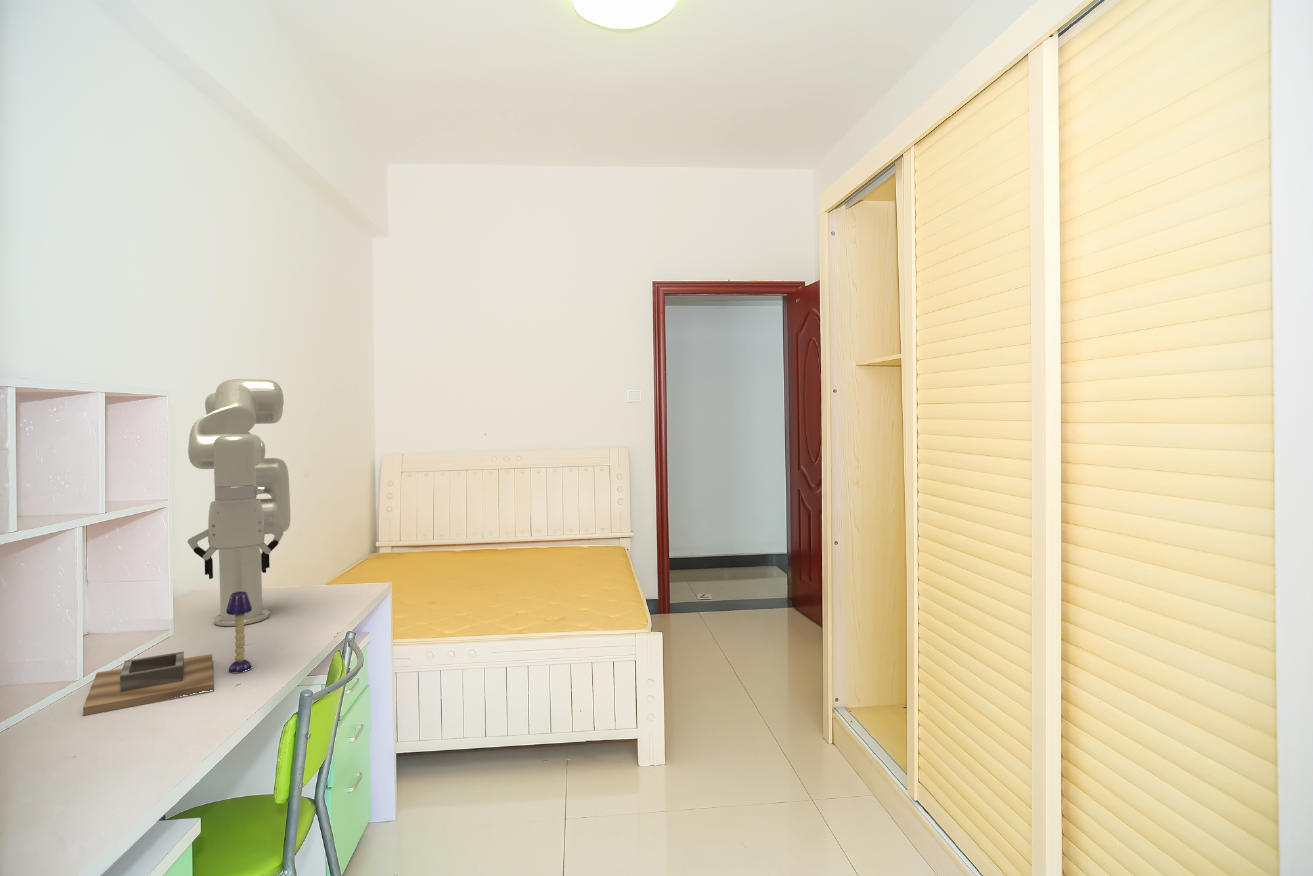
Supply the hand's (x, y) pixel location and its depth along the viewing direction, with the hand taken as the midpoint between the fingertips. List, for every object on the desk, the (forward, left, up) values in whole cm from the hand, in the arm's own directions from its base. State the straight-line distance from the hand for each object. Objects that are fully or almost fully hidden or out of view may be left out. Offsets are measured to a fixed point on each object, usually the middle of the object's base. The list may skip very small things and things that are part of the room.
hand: (237, 574), depth 148 cm
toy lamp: (0, 0, -21) cm, 21 cm away
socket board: (-1, -15, -21) cm, 26 cm away
